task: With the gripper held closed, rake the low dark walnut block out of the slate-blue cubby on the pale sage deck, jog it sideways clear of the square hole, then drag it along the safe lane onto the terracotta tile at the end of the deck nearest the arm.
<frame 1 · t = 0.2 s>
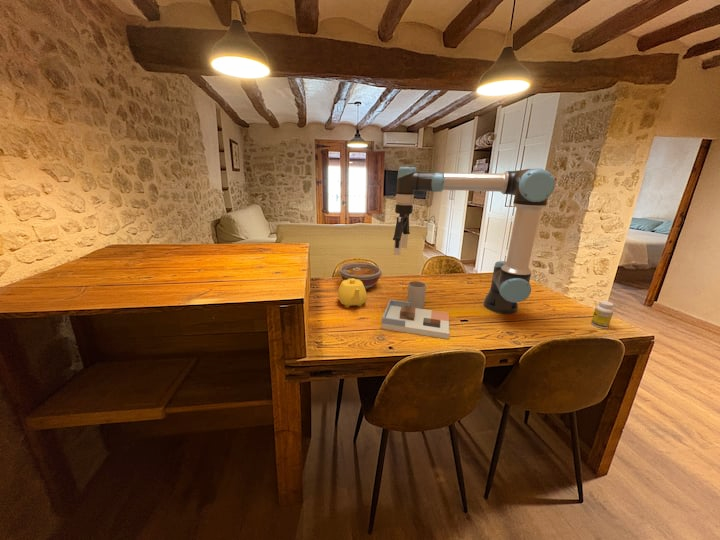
hand: (400, 251, 137), 27 cm above the table, fingers open, 13 cm apart
bowl: (360, 285, 169), on the table
mug: (414, 303, 149), on the table
deck: (415, 322, 130), on the table
teapot: (352, 304, 146), on the table
walnut block: (407, 316, 130), point 2 cm above the table, touching deck
pill bottle: (599, 325, 133), on the table
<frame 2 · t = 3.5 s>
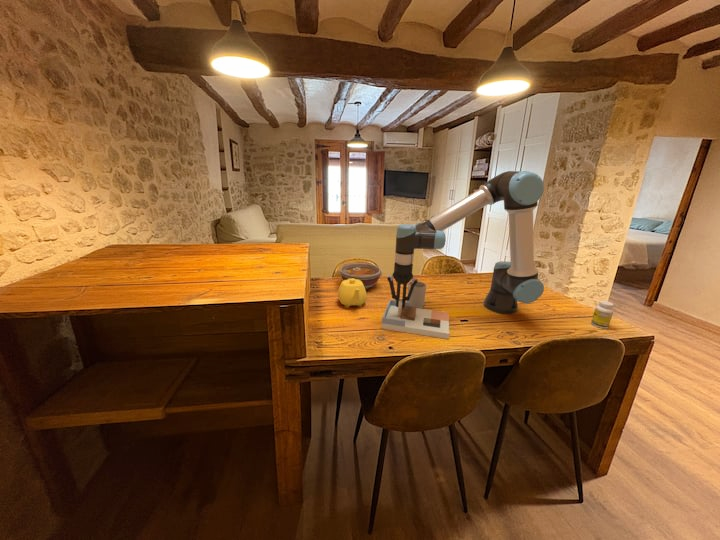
hand: (399, 313, 131), 3 cm above the table, fingers closed
walnut block: (408, 316, 130), point 3 cm above the table, touching deck, gripper
everything else where it was.
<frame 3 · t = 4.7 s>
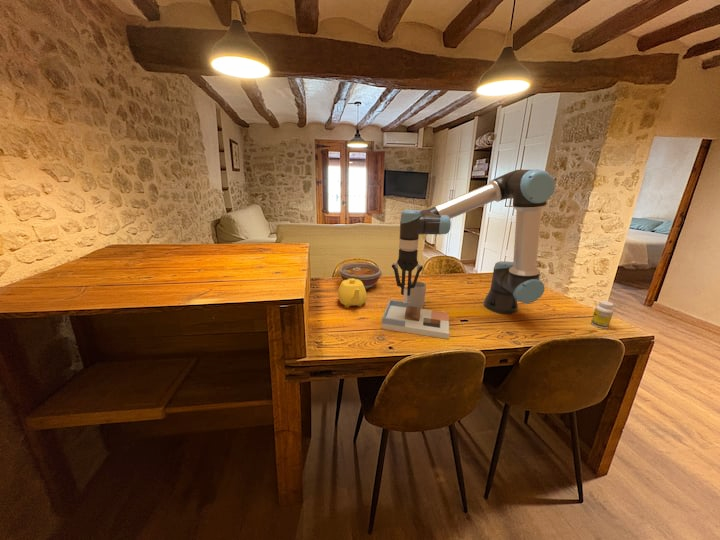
hand: (405, 301, 129), 9 cm above the table, fingers closed
walnut block: (412, 317, 130), point 2 cm above the table, touching deck
everything else where it was.
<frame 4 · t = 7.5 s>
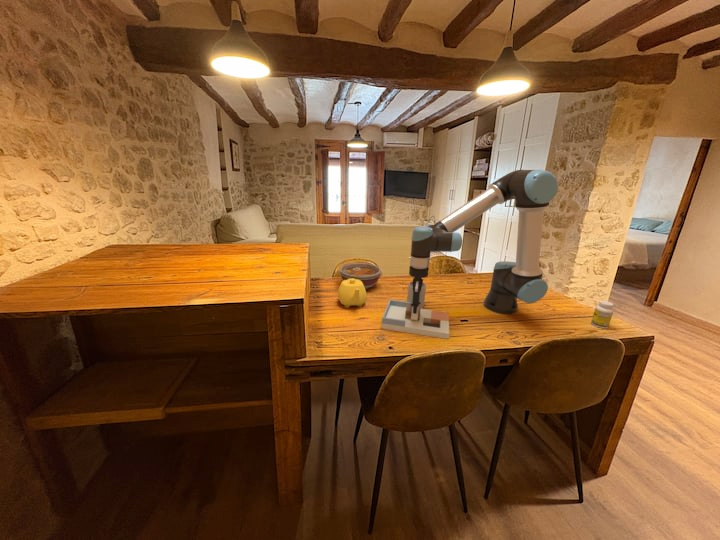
hand: (414, 318, 127), 3 cm above the table, fingers closed
walnut block: (412, 316, 130), point 3 cm above the table
everything else where it was.
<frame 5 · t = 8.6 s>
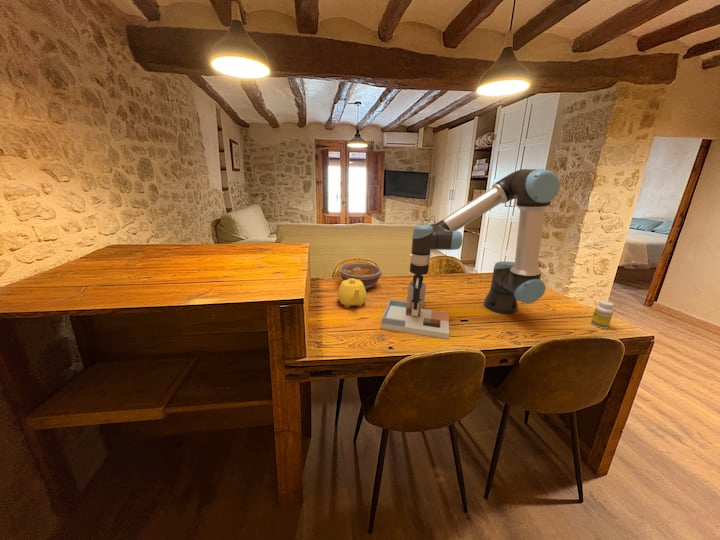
hand: (414, 315, 130), 3 cm above the table, fingers closed
walnut block: (413, 312, 134), point 2 cm above the table, touching deck, gripper
everything else where it was.
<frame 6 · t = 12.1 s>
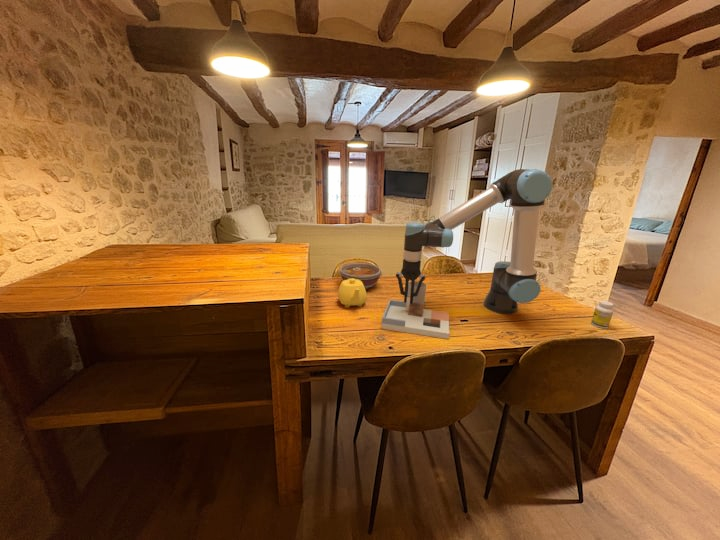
hand: (407, 309, 135), 3 cm above the table, fingers closed
walnut block: (415, 312, 133), point 2 cm above the table, touching deck, gripper
everything else where it was.
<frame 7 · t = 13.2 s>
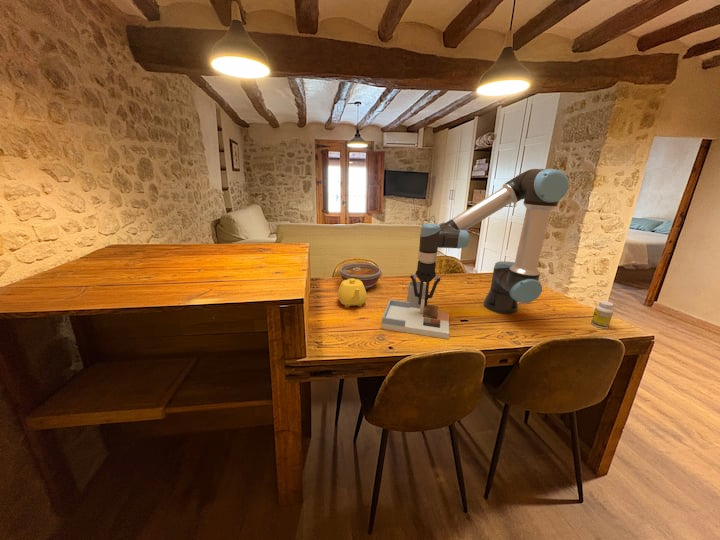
hand: (421, 311, 134), 3 cm above the table, fingers closed
walnut block: (430, 315, 132), point 2 cm above the table, touching deck
everything else where it was.
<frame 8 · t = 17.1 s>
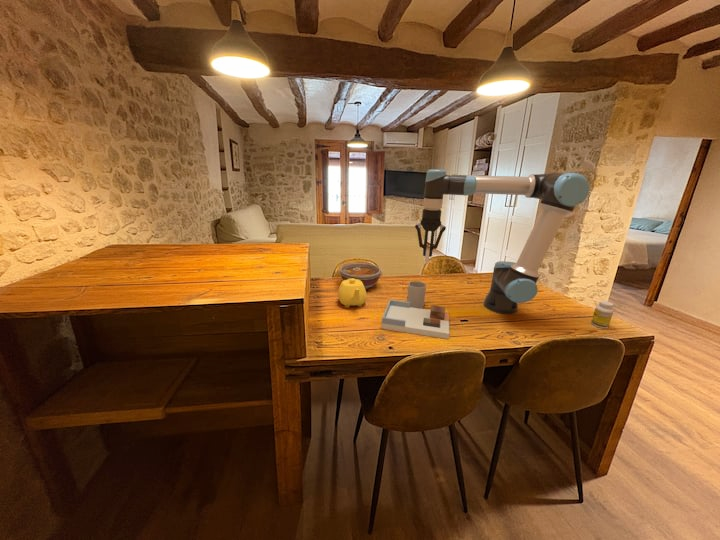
hand: (426, 263, 131), 24 cm above the table, fingers closed
walnut block: (437, 316, 131), point 2 cm above the table, touching deck
everything else where it was.
at the end: walnut block inside the target area on the deck (1.3 cm from its centre), point 2.5 cm above the deck's base; walnut block tilted 0° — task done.
